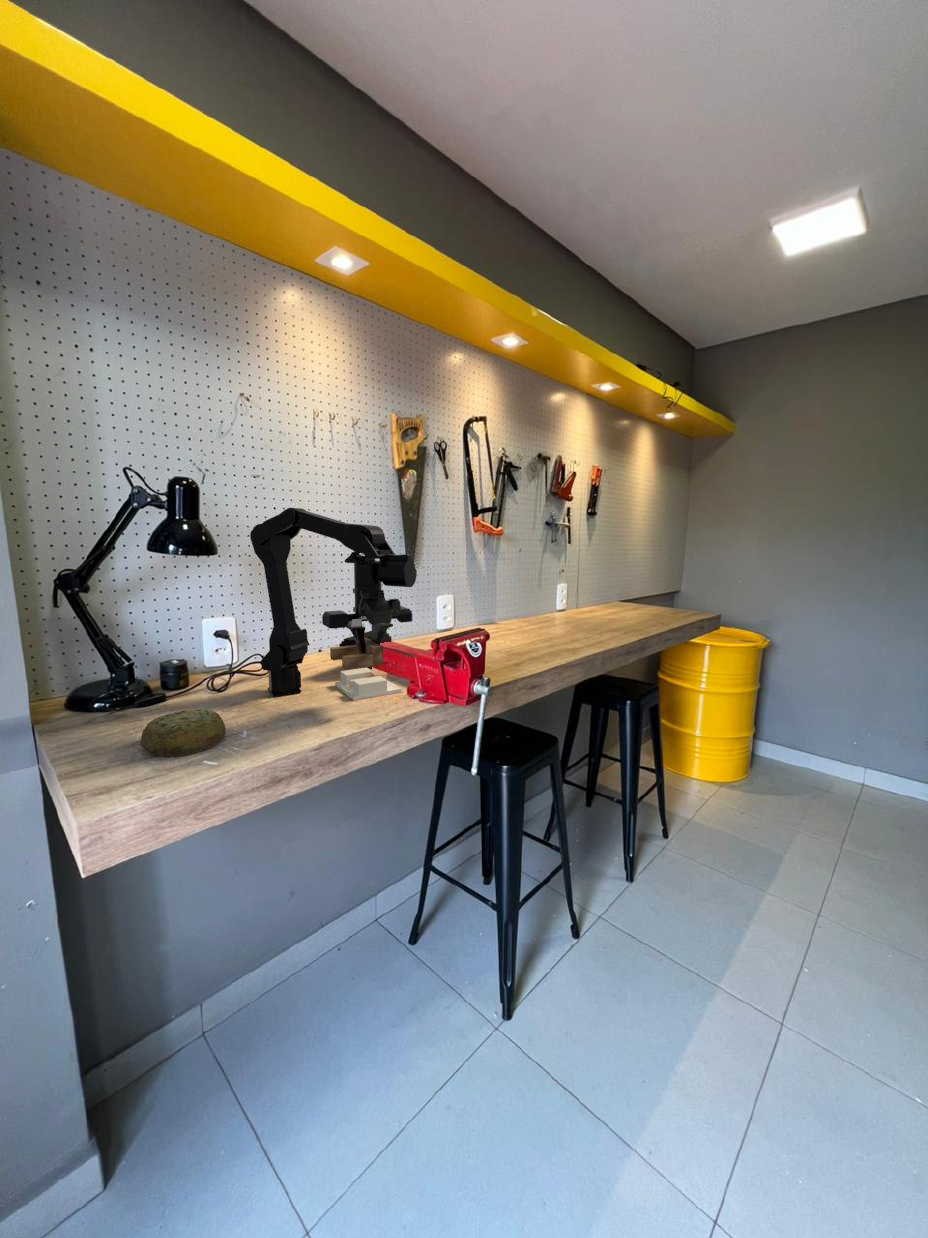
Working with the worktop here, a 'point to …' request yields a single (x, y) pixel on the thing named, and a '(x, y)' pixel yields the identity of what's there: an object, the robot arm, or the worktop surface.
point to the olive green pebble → (183, 732)
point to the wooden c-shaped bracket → (358, 655)
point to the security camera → (368, 635)
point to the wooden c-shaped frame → (365, 684)
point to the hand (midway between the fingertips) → (369, 655)
